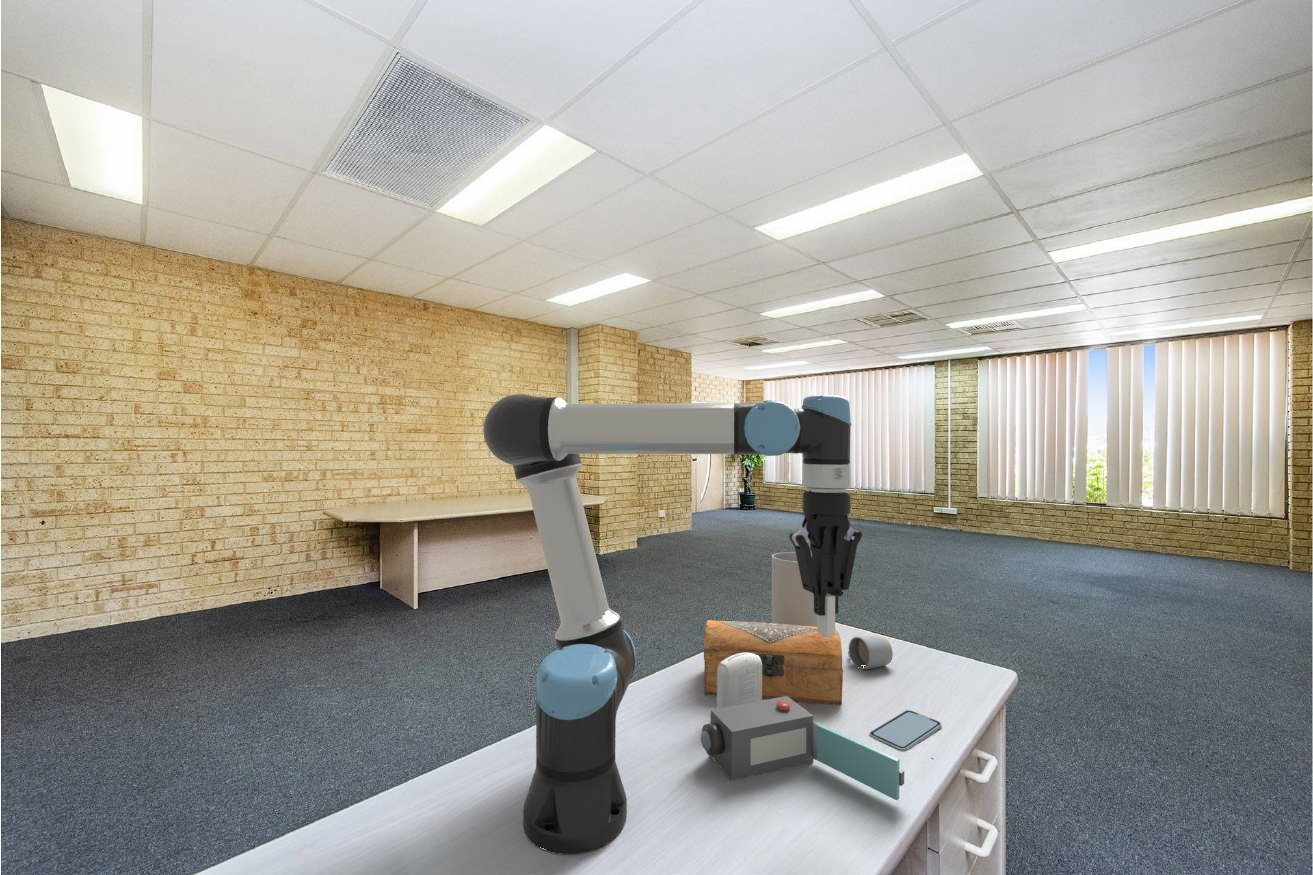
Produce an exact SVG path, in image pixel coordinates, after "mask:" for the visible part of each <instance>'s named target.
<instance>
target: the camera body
mask: <svg viewBox="0 0 1313 875" xmlns="http://www.w3.org/2000/svg"><path fill="white" fill-rule="evenodd" d="M813 723H814V715H813V714H812V713H810V712H809V711H808V710H807V709H806V708H804V707H803V706H801V704H799V703H797V702H796V701H793V700H792V699H791V698H789V697H788V696H784V697H778V698H773V699H762V701H756V702H751V703H745V704H740V705H734V706H728V707H723V708H717V707H716V708H712V709H710V723H706V724H704V725H703V726H702V727H701V733H700V741H701V746H702V747H703V750H704V751H705V752H706V755H708V756H709V757H712V759H713V760H714V761H715V762H716V763H717V765H718V767H719V768H721V769H722V771H723V772H724V773H725V775H726V776H727V777H728V778H729V779H730V781H731V782H732V781H737V780H741V779H746V778H750V777H754V776H758V775H762V774H766V773H771V772H772V773H773V772H776V771H779V770H783V769H789V768H792V767H797V766H802V765H806V764H809V763H813V762H814V759H813Z"/></svg>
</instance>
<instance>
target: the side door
mask: <svg viewBox="0 0 1313 875" xmlns="http://www.w3.org/2000/svg"><path fill="white" fill-rule="evenodd" d="M815 760H816V761H817V762H820V763H822V764H823V765H825V766H827V767H829V768H830V769H833V770H835V771H837V772H839V773H841V774H843V775H844V776H847V777H849V778H850V779H853V780H856V781H857V782H859V783H861V784H863V785H865V786H867V787H869V788H871V789H873V790H875V791H877V792H879V793H881V794H882V795H885V796H887V797H889V798H891V799H893V800H895V801H899V799H900V787H902V786H904V784H905V770H903V769H901V768H900V759H899V757H898V758H897V757H895V756H893V755H891V754H888V753H886V752H884V751H881V750H879V749H878V748H875V747H873V746H872V745H871V746H870V745H869V744H866V743H864V742H861V741H859V740H857V739H855V738H852V737H851V736H849V735H846V734H843V733H841V732H839V731H837V730H834V729H832V728H830V727H828V726H825V725H823V724H821V723H819V722H817V721H813V761H815Z"/></svg>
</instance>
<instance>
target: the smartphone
mask: <svg viewBox="0 0 1313 875" xmlns="http://www.w3.org/2000/svg"><path fill="white" fill-rule="evenodd" d="M941 728H942V722H941V721H939V720H936V719H934V718H931V717H928V716H926V715H924V714H921V713H919V712H916V711H913V710H911V709H906V710H904V711H902V712H900V713H899V714H896V716H895V715H894V717H892V718H891V719H889V720H886V721H885V722H884V723H882V724H881V725H879V726H878V727H875V728H874V729H872V730H870V731H869V734H868V736H870V738H873V739H875V740H877V741H879V742H881V743H884V744H886V745H888V746H889V747H891V748H894V749H896V750H898V751H902V752H906V751H908V750H909V749H911V748H912V747H914V746H916V745H917V744H919V743H920V742H922V741H924V740H925V739H926V738H928V737H930V736H932V735H933V734H934V733H936V732H937V731H939V730H940V729H941ZM938 729H939V730H938Z"/></svg>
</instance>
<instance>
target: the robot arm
mask: <svg viewBox="0 0 1313 875" xmlns="http://www.w3.org/2000/svg"><path fill="white" fill-rule="evenodd" d="M850 408H851V407H850V401H849V399H847V397H846V396H841V395H836V394H835V395H832V394H828V395H827V394H826V395H809V396H806V397H804V398H803V401H802V405H801V407H797V408H792V407H791V406H790V405H788V404H786V403H785V402H781V401H779V400H770V399H769V400H763V401H761V402H737V403H736V402H676V403H674V402H673V403H671V402H670V403H667V402H664V403H662V402H661V403H660V402H659V403H656V402H655V403H654V402H653V403H648V402H647V403H644V402H643V403H568V402H566V401H565V400H564V399H563V398H562V397H560V396H559V397H558V396H557V397H556V396H555V397H552V396H551V397H545V396H536V395H535V396H533V395H531V394H524V393H516V394H510V395H507V396H504V397H502V398H501V399H498V401H495V403H494V404H493V405H492V406H491V407H490V408H489V411H488V412H487V414H486V415H485V418H484V423H483V429H482V430H483V431H482V432H483V439H484V442H485V443H486V446H487V448H488V449H489V451H490V452H491V454H492V455H493V456H494V457H496V458H497V459H498V460H499V461H502V462H503V463H505V464H507V465H508V464H509V465H512V468H513V471H514V476H515V479H516V482H517V483H518V484H519V485H521V486H524V487H525V488H526V489H527V490H528V494H529V498H530V503H531V506H532V510H533V514H534V520H535V523H536V527H537V531H538V536H539V539H540V542H541V543H540V544H541V548H542V550H543V551H542V552H543V556H544V560H545V562H546V564H545V565H546V567H547V572H548V575H549V579H550V583H551V584H550V585H551V587H552V591H553V592H552V593H553V595H554V600H555V605H556V608H557V612H558V616H559V620H560V624H559V626H558V629H556V631H555V633H554V638H555V641H556V646H557V649H555V650H553V651H552V652H550V653H549V654H548V655H547V656H546V657H545V658H544V659H543V660H542V661H541V662H540V665H539V666H538V670H537V676H536V677H537V678H536V683H535V690H534V691H535V698H536V699H535V700H536V701H535V702H536V705H535V706H536V708H535V709H536V710H535V711H536V713H535V714H536V716H535V718H536V719H535V721H536V726H535V728H536V729H535V730H536V732H535V734H536V735H535V739H536V741H535V742H536V744H535V747H536V748H535V749H536V750H535V759H536V760H535V769H534V772H533V775H532V779H531V782H530V785H529V789H528V791H527V794H526V796H525V801H524V804H523V814H522V815H523V818H522V824H523V825H522V826H523V830H524V834H525V836H526V837H527V839H528V840H529V841H530V842H531V843H532V844H533V845H534V846H536V847H537V846H538V848H539V847H541V848H544V849H546V850H547V851H546V850H545V851H546V852H549V851H550V852H549V853H553V852H554V854H558V853H562V854H561V855H575V854H576V855H577V854H583V853H588V852H591V851H594V850H597V849H599V848H601V847H604V846H605V845H607V844H609V843H610V842H611V841H613V840H614V839H615V838H616V837H617V836H618V835H619V834H620V833H621V831H622V830H623V829H624V827H625V824H626V822H627V819H628V818H627V816H628V814H627V813H628V809H627V808H628V799H627V794H626V791H625V788H624V785H623V781H622V778H621V775H620V771H619V768H618V765H617V763H616V733H617V732H616V728H617V727H616V722H617V713H618V709H619V708H620V704H621V703H622V700H623V698H624V696H625V694H626V693H627V692H626V691H627V689H628V688H629V684H630V682H631V681H632V680H633V677H634V674H635V671H636V670H635V669H636V663H637V662H636V660H637V654H636V647H635V644H634V641H633V639H632V637H631V636H630V634H628V633H629V632H627V631H626V630H624V626H623V623H622V619H621V615H620V614H619V613H618V612H616V611H614V610H613V609H611V608H610V607H609V603H608V599H607V594H606V591H605V587H604V583H603V579H602V575H601V571H600V567H599V563H598V559H597V556H596V551H595V547H594V542H593V538H592V535H591V532H590V531H591V530H590V526H589V523H588V520H587V516H586V512H585V508H584V503H583V499H582V496H581V491H580V487H579V483H578V479H577V476H578V473H579V471H580V469H581V467H582V466H583V464H582V460H581V456H580V455H739V456H740V455H741V456H742V455H745V456H746V455H747V456H748V455H749V456H752V455H753V456H755V455H757V456H758V455H761V456H766V457H773V456H774V457H775V456H777V457H778V456H781V455H784V454H802V483H801V484H802V487H803V488H805V489H806V490H804V491H803V492H802V512H803V515H804V519H803V521H802V524H801V528H800V529H799V530H798V531H797V532H791V533H790V534H789V540H790V541H791V544H792V545H793V547H794V552H795V553H796V556H797V561H798V566H799V571H800V576H801V581H802V586H803V589H805V590H807V591H809V592H812V593H813V595H814V613H815V614H817V632H818V633H820V634H822V635H824V636H826V637H834V636H835V629H836V615H837V614H838V612H839V597H842V596H843V595H844V592H843V591H848V590H849V589H850V584H851V579H852V574H853V568H854V564H855V559H856V553H857V549H858V548H857V547H858V545H859V543H860V541H861V539H862V538H863V533H862V532H861V531H858V530H855V529H854V528H852V527H851V522H850V520H849V518H848V517H849V516H848V515H849V514H851V494H850V492H849V491H847V490H848V489H850V488H851V428H852V427H851V426H852V422H851V420H852V419H851V409H850ZM809 542H810V543H809ZM809 544H810V545H809ZM811 555H812V557H811ZM541 848H540V849H541Z"/></svg>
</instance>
